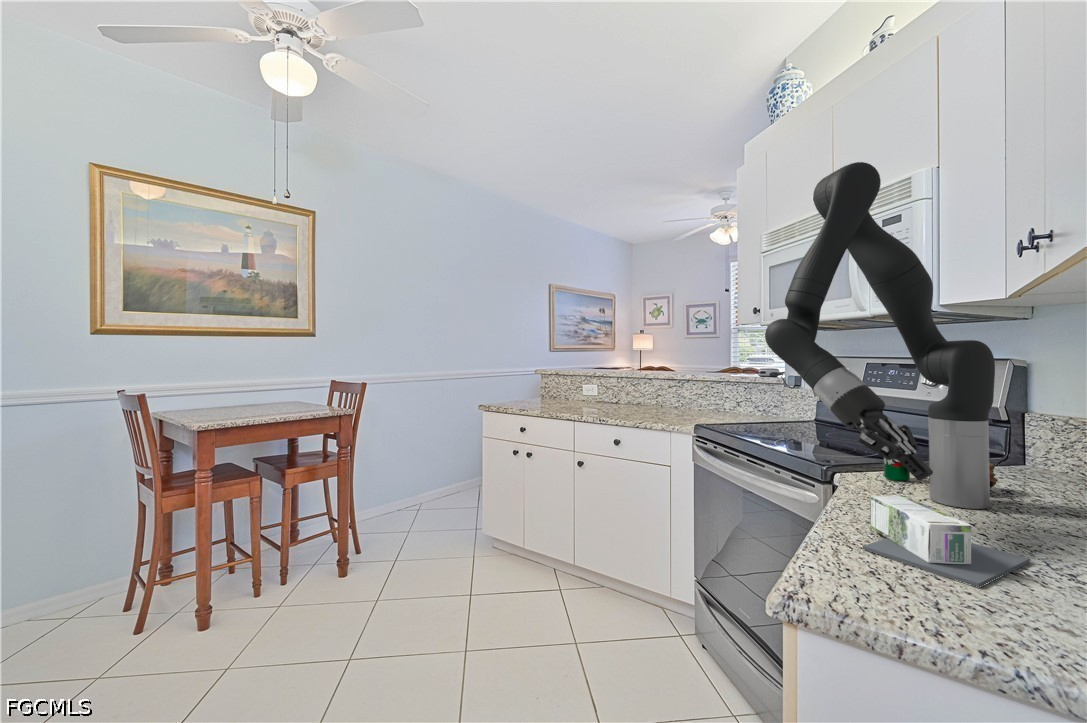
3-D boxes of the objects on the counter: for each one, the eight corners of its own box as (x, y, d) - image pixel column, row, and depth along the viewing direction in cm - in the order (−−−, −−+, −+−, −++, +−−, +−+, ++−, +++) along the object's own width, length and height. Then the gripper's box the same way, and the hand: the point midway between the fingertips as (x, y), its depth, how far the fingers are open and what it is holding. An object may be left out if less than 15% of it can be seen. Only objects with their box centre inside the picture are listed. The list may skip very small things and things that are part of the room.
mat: (916, 531, 79) (916, 528, 79) (1030, 562, 67) (1030, 558, 67) (862, 549, 72) (862, 545, 72) (978, 588, 60) (978, 583, 60)
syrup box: (904, 529, 79) (975, 566, 65) (867, 528, 80) (930, 564, 65) (904, 495, 79) (975, 525, 65) (867, 495, 80) (930, 524, 65)
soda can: (915, 482, 111) (914, 432, 111) (894, 482, 111) (893, 432, 111) (899, 477, 116) (898, 429, 116) (879, 477, 116) (878, 429, 116)
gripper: (840, 384, 81) (924, 468, 70) (882, 382, 87) (966, 459, 76) (811, 412, 86) (886, 494, 75) (853, 408, 92) (928, 484, 81)
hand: (926, 476), depth 76 cm, fingers closed
